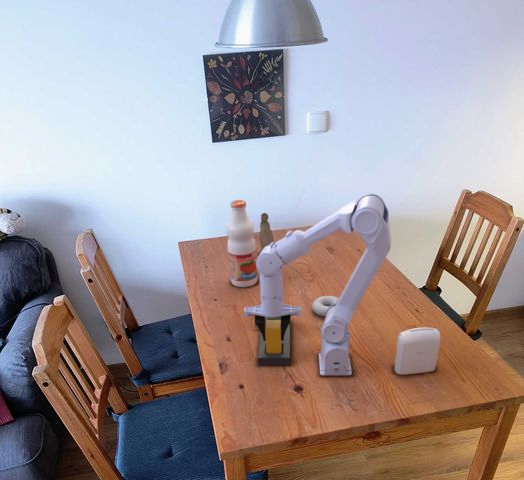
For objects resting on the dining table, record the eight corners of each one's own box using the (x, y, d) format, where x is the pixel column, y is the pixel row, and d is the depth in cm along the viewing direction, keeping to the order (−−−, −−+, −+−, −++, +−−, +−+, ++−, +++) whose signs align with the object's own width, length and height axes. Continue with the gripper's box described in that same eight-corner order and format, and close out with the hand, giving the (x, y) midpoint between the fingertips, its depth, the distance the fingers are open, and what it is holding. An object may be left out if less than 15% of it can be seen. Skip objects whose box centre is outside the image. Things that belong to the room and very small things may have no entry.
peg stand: (289, 365, 127) (289, 357, 126) (258, 365, 128) (257, 357, 126) (290, 322, 145) (290, 315, 143) (262, 322, 145) (262, 315, 144)
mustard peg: (281, 353, 128) (280, 328, 123) (266, 353, 128) (265, 328, 124) (281, 344, 131) (280, 319, 127) (267, 345, 131) (265, 320, 127)
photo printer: (397, 376, 121) (403, 336, 114) (391, 366, 125) (397, 326, 118) (436, 372, 122) (445, 332, 115) (430, 362, 125) (438, 322, 118)
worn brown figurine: (260, 259, 189) (254, 212, 181) (273, 257, 189) (269, 210, 182) (265, 265, 178) (260, 216, 171) (280, 263, 178) (275, 213, 171)
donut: (310, 318, 146) (343, 320, 144) (310, 308, 144) (344, 310, 142) (314, 302, 154) (345, 303, 152) (314, 293, 152) (346, 294, 150)
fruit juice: (241, 273, 174) (235, 195, 157) (262, 279, 169) (258, 199, 153) (225, 284, 167) (217, 204, 151) (247, 290, 163) (241, 208, 147)
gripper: (300, 285, 123) (301, 330, 130) (244, 286, 124) (247, 330, 131) (301, 298, 117) (301, 344, 125) (241, 300, 118) (245, 345, 126)
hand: (273, 338), depth 128 cm, fingers closed on mustard peg, 4 cm apart
